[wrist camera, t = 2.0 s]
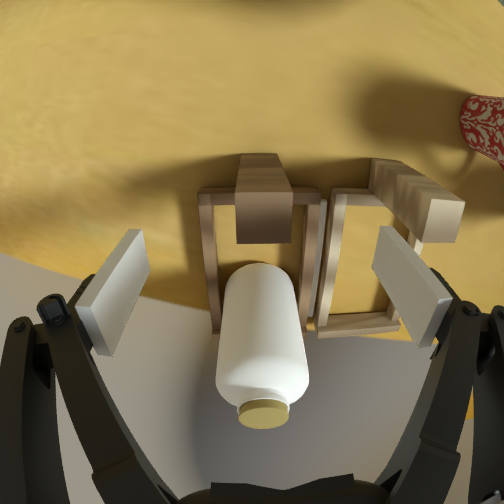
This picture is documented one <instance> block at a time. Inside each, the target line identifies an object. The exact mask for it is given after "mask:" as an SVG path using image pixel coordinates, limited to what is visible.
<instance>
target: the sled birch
mask: <svg viewBox="0 0 504 504" xmlns="http://www.w3.org/2000/svg"><path fill="white" fill-rule="evenodd" d="M346 205H355V206H382V207H387V208H388V209H389V210H390V211H391V212H392V213H393V214H394V215H395V216H396V217H397V218H398V219H399V220H400V221H401V222H402V223H403V224H404V225H405V226H406V227H407V228H408V229H409V230H410V231H409V235H408V240H407V243H408V244H409V245H410V246H411V247H412V249H413V250H414V251H415V252H416V253H417V254H418V256H419V257H420V254H421V251H422V247H423V243H455V240H456V236H457V233H458V229H459V225H460V222H461V218H462V214H463V210H464V206H465V201H463V200H462V199H460V198H459V197H457V196H456V195H454V194H453V193H451V192H450V191H448V190H447V189H445V188H444V187H442V186H441V185H439V184H438V183H436V182H434V181H433V180H431V179H430V178H428V177H426V176H425V175H423V174H421V173H420V172H418V171H416V170H415V169H413V168H411V167H409V166H408V165H406V164H404V163H402V162H400V161H394V160H385V159H374V158H372V159H371V169H370V178H369V186H368V189H358V188H334V187H331V194H330V205H329V215H328V224H327V233H326V242H325V250H324V258H323V265H322V273H321V280H320V287H319V293H318V300H317V306H316V312H315V319H314V326H315V330H316V335H317V338H331V337H343V336H356V335H367V334H377V333H386V332H394V331H399V328H400V326H401V324H400V322H399V317H400V315H399V314H398V312H397V310H396V308H395V306H394V305H393V303H392V301H391V300H390V303H389V306H388V309H387V312H375V313H362V314H348V315H331V316H328V315H329V310H330V305H331V300H332V295H333V289H334V284H335V278H336V272H337V266H338V260H339V254H340V247H341V240H342V233H343V226H344V218H345V210H346Z"/></svg>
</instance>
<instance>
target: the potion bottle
mask: <svg viewBox="0 0 504 504" xmlns="http://www.w3.org/2000/svg"><path fill="white" fill-rule="evenodd" d="M308 384H309V374H308V366H307V361H306V355H305V349H304V343H303V337H302V332H301V326H300V321H299V315H298V310H297V304H296V299H295V294H294V288H293V283H292V281H291V280H290V278H289V276H288V274H286V273H285V272H284V271H283V270H282V269H280V268H279V267H276V266H274V265H271V264H266V263H254V264H248V265H246V266H244V267H241V268H239V269H238V270H236V271H235V272H234V273H233V274H232V275H231V276H230V278H229V280H228V282H227V284H226V289H225V297H224V306H223V315H222V324H221V334H220V343H219V353H218V363H217V372H216V387H217V389H218V391H219V393H220V394H221V396H222V397H223V398H224V399H226V400H227V401H228V402H229V403H231V404H233V405H235V406H237V412H238V413H239V418H238V419H239V421H240V423H242V424H243V425H245V426H247V427H250V428H256V429H267V428H273V427H277V426H280V425H282V424H284V423H285V422H286V421H287V420H288V418H289V416H288V411H289V410H290V408H289V404H291V403H293V402H295V401H296V400H297V399H298V398H300V397H301V396H302V395H303V393H304V392H305V390H306V388H307V386H308Z"/></svg>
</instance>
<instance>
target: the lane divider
mask: <svg viewBox="0 0 504 504" xmlns="http://www.w3.org/2000/svg"><path fill="white" fill-rule="evenodd" d="M326 209H327V201H326V199H321V205H320V216H319V227H318V237H317V246H316V255H315V264H314V273H313V281H312V288H311V296H310V303H309V310H308V317H313V312H314V305H315V299H316V292H317V285H318V278H319V270H320V263H321V255H322V247H323V238H324V229H325V219H326Z"/></svg>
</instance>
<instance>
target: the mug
mask: <svg viewBox="0 0 504 504" xmlns="http://www.w3.org/2000/svg"><path fill="white" fill-rule="evenodd" d="M460 126H461V131H462V134H463V137H464V139H465V141H466V142H467V144H468V145H469V146H470V147H471V148H473V149H474V150H476V151H478V152H480V153H482V154H484V155H486V156H488V157H489V158H491V159H493V160H495V161H497V162H498V163H499V164H500V166H501V167H502V168H503V170H504V98H503V97H492V96H481V95H476V96H472V97H470V98H468V99H467V100H466V101H465V103H464V105H463V107H462V110H461V115H460Z"/></svg>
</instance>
